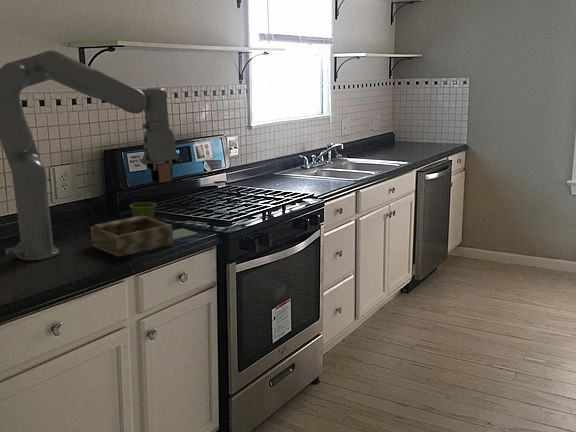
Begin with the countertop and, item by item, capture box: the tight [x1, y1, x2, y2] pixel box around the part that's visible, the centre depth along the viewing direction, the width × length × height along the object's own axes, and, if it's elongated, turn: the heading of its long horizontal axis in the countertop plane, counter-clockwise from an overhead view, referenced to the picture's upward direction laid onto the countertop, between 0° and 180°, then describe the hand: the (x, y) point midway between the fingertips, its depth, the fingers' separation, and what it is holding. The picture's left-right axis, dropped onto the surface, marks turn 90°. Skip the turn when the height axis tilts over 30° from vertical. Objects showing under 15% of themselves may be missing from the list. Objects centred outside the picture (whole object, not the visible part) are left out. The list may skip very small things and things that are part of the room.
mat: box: [172, 228, 200, 241], centre depth 229 cm, size 10×10×1 cm
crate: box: [90, 215, 174, 258], centre depth 217 cm, size 20×18×7 cm
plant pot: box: [129, 201, 157, 220], centre depth 239 cm, size 9×9×9 cm
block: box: [156, 161, 173, 184], centre depth 219 cm, size 4×4×6 cm
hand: (162, 180), depth 220 cm, fingers closed on block, 4 cm apart
